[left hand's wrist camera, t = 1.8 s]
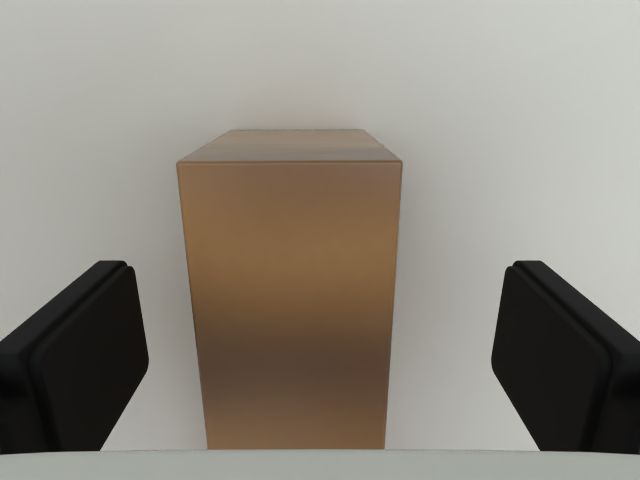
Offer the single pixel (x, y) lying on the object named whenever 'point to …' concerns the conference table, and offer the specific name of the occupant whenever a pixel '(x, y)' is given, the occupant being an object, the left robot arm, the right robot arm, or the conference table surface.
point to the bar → (292, 286)
